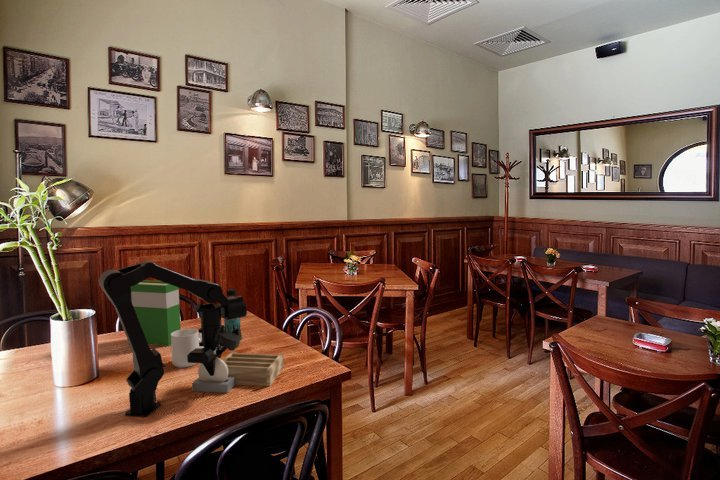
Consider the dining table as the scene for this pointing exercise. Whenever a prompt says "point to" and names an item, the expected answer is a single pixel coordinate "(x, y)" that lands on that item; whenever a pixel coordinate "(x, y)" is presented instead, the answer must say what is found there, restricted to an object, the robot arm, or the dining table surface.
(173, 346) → the mug
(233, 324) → the beverage bottle
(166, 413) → the dining table surface
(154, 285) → the green cereal box
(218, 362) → the plate
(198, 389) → the stand
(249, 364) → the rack
